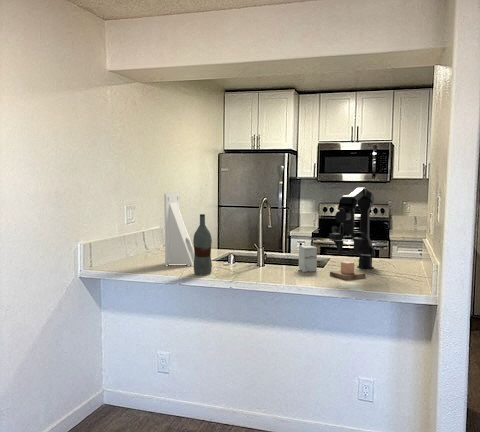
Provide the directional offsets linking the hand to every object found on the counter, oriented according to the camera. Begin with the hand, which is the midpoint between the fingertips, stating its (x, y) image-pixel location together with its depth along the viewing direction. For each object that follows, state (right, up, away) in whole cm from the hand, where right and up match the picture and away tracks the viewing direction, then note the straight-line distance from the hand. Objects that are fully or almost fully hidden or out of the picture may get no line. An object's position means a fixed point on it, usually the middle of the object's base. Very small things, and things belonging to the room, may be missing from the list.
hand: (347, 253), depth 225 cm
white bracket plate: (-84, -9, +36) cm, 91 cm away
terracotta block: (0, -9, +1) cm, 9 cm away
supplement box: (-17, -10, +17) cm, 26 cm away
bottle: (-71, -11, +9) cm, 72 cm away
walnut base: (0, -11, +1) cm, 11 cm away
